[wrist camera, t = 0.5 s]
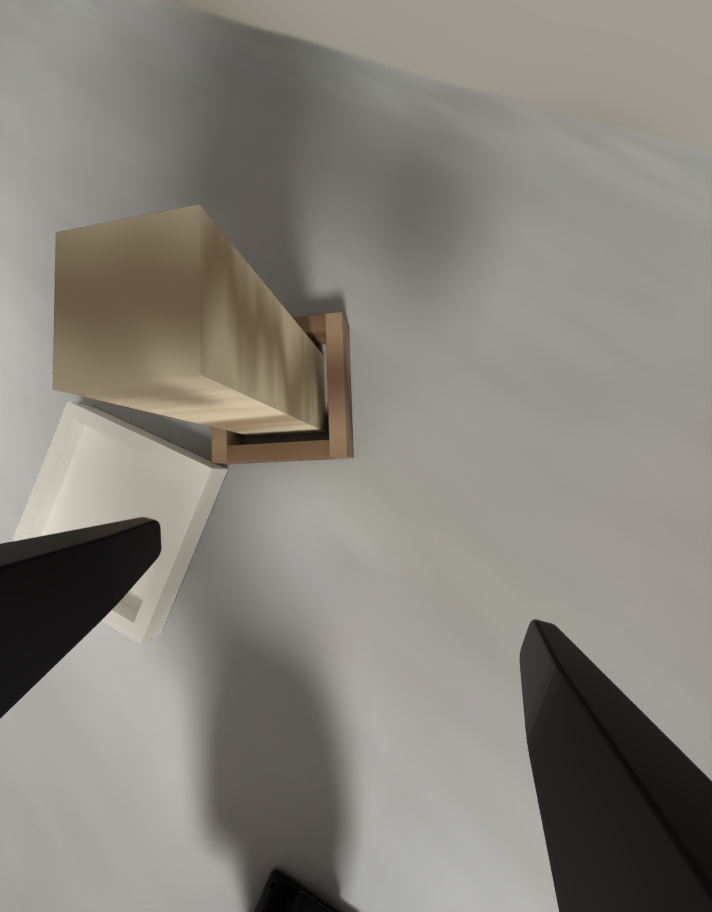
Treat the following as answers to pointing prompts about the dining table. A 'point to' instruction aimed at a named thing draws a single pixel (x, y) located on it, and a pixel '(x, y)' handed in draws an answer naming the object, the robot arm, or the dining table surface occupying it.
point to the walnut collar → (340, 442)
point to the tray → (125, 502)
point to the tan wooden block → (180, 328)
